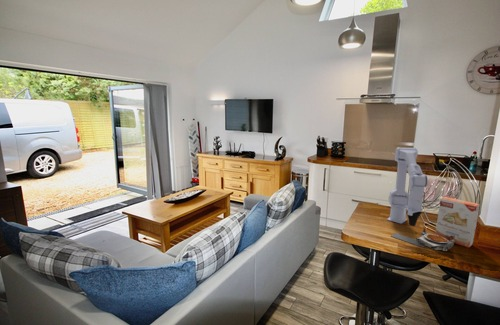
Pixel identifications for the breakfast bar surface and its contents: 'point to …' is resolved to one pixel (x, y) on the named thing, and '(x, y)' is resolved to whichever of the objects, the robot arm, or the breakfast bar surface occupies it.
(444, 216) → the cracker box
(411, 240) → the gray flat rectangular plate
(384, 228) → the breakfast bar surface
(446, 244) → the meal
